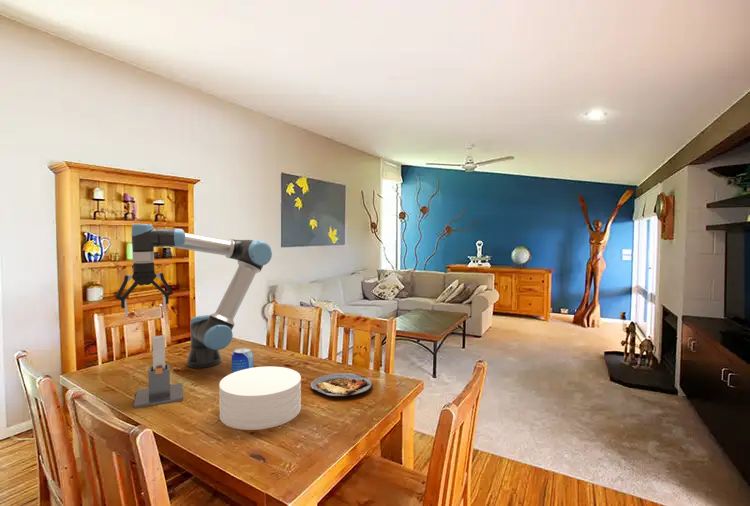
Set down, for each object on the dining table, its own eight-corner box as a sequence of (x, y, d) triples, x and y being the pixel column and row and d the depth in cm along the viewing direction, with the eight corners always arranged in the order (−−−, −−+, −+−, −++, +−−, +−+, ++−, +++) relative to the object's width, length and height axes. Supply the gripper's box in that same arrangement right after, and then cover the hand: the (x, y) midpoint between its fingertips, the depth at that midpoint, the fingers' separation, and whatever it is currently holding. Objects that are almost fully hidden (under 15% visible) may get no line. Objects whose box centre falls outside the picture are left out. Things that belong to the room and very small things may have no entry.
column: (166, 389, 158) (165, 334, 157) (166, 394, 154) (165, 337, 153) (153, 391, 156) (152, 336, 155) (152, 396, 152) (151, 339, 151)
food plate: (383, 387, 166) (383, 379, 166) (342, 406, 148) (341, 396, 148) (341, 374, 182) (341, 366, 182) (300, 389, 165) (300, 381, 165)
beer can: (257, 386, 166) (257, 348, 165) (244, 394, 158) (244, 354, 157) (240, 383, 168) (240, 346, 168) (227, 391, 161) (227, 351, 160)
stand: (182, 385, 166) (181, 356, 165) (183, 400, 152) (182, 368, 151) (137, 391, 159) (136, 361, 158) (133, 408, 144) (133, 375, 144)
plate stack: (258, 438, 125) (257, 403, 124) (202, 415, 140) (202, 383, 139) (316, 406, 148) (316, 375, 148) (263, 389, 163) (263, 361, 163)
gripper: (176, 259, 172) (178, 308, 173) (106, 263, 158) (109, 316, 160) (179, 261, 165) (180, 311, 167) (106, 264, 152) (109, 319, 153)
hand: (145, 314), depth 163 cm, fingers open, 13 cm apart
